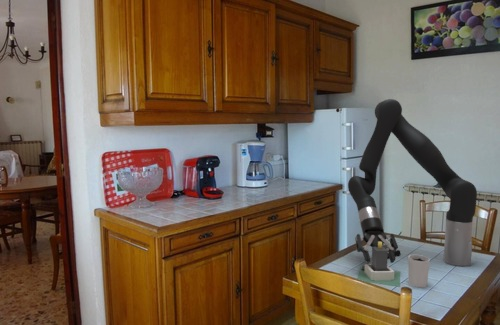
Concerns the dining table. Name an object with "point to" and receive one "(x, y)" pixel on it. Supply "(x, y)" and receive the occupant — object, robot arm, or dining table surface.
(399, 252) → the electric trimmer
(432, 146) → the robot arm
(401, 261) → the dining table surface
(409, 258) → the grey cup
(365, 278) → the circuit board
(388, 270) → the socket
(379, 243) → the plug
